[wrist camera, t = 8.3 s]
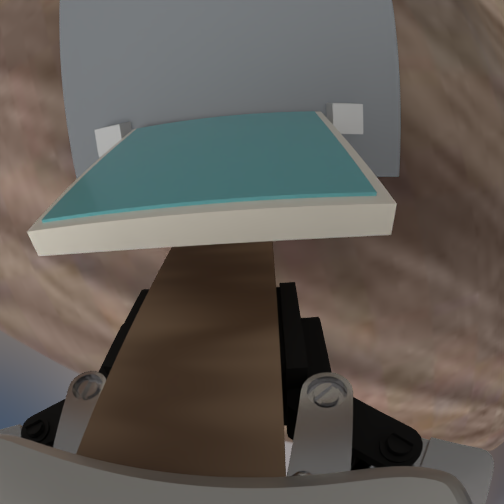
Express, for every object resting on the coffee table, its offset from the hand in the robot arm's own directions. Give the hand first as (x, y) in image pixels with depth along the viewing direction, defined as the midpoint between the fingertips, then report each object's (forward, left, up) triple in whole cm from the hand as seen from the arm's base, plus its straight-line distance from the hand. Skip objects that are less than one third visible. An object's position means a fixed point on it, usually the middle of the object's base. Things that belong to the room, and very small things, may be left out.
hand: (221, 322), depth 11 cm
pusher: (0, 0, -2) cm, 2 cm away
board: (0, -11, -10) cm, 15 cm away
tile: (0, -5, -3) cm, 6 cm away
